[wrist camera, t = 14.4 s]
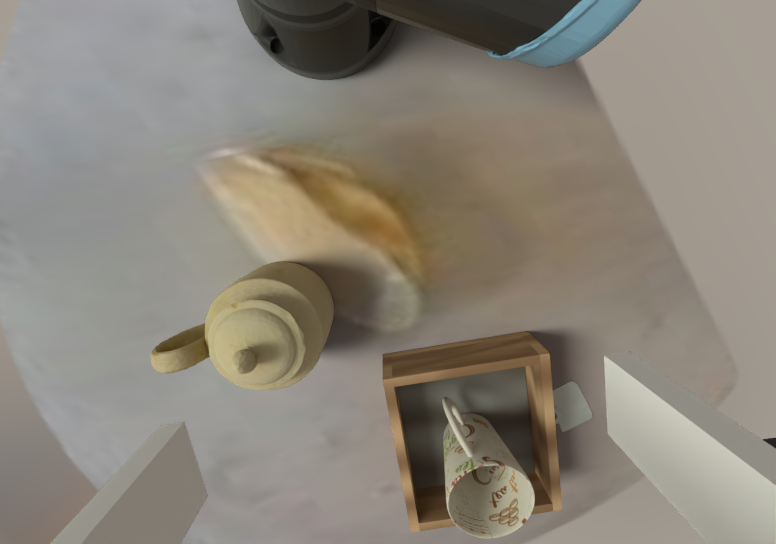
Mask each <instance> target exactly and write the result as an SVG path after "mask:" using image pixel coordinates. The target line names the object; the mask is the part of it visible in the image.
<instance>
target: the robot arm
mask: <svg viewBox="0 0 776 544" xmlns="http://www.w3.org/2000/svg"><path fill="white" fill-rule="evenodd" d="M640 1H641V0H237V2H238V5H239V8H240V11H241V14H242V16H243V18H244V21H245V23H246V25H247V26H248V28H249V30H250V32H251V33H252V35H253V36H254V38H255V39H256V40H257V42H258V43H259V44H260V45H261V46H262V47H263V49H264V50H265V51H266V52H267V53H268V54H269V55H270V56H271V57H272V58H273V59H274V60H275V61H276V62H277V63H279V64H280V65H281V66H283V67H285V68H286V69H288V70H290V71H292V72H294V73H296V74H298V75H301V76H304V77H308V78H313V79H322V80H327V79H337V78H342V77H345V76H348V75H351V74H353V73H355V72H357V71H359V70H361V69H362V68H364V67H365V66H367V65H368V64H369V63H371V62H372V61H373V60H374V59H375V58H376V57H377V56H378V55H379V54H380V53H381V51H382V50H383V49H384V47H385V46H386V44H387V43H388V41H389V39H390V37H391V35H392V33H393V31H394V28H395V26H396V23H397V20H398V21H400V22H403V23H406V24H409V25H412V26H415V27H418V28H421V29H424V30H427V31H430V32H433V33H436V34H439V35H441V36H444V37H447V38H450V39H453V40H456V41H459V42H462V43H465V44H468V45H471V46H474V47H477V48H480V49H482V50H485V51H486V52H487V54H488V55H489V56H491V57H493V58H496V59H513V60H516V61H520V62H523V63H527V64H530V65H534V66H538V67H547V68H548V67H553V66H556V65H561V64H566V63H569V62H571V61H573V60H575V59H577V58H579V57H580V56H582V55H584V54H585V53H587V52H588V51H590V50H591V49H592V48H594V47H595V46H596V45H597V44H599V42H601V41H602V40H603V39H605V38H606V37H607V36H608V35H609V34H610V33H611V32H612V31H613V30H614V29H615V28H616V27H617V26H618V25H619V24H620V23H621V22H622V21H623V20H624V19H625V18H626V17H627V16H628V15H629V14H630V13H631V12H632V11H633V9H634V8H635V7H636V6H637V5H638V3H640ZM604 365H605V387H606V409H607V430H608V435H609V436H610V437H611V438H612V439H613V440H614V442H615V443H616V444H617V445H618V446H619V447H620V448H621V449H622V450H623V451H624V453H625V454H626V455H627V456H628V457H629V458H630V459H631V460H632V461H633V462H634V464H635V465H636V466H637V467H638V468H639V469H640V470H641V471H642V472H643V473H644V475H645V476H646V477H647V478H648V479H649V480H650V481H651V482H652V483H653V484H654V485H655V486H656V488H657V489H658V490H659V491H660V492H661V493H662V494H663V495H664V496H665V497H666V499H667V500H668V501H669V502H670V503H671V504H672V505H673V506H674V507H675V508H676V510H677V511H678V512H679V513H680V514H681V515H682V516H683V517H684V518H685V520H686V521H687V522H688V523H689V524H690V525H691V526H692V527H693V528H694V529H695V530H696V532H697V533H698V534H699V535H700V536H701V537H702V538H703V539H704V540H705V541H706V543H707V544H776V438H770V439H763V440H762V439H760V438H759V437H757V436H756V435H754V434H753V433H751V432H750V431H748V430H747V429H745V428H744V427H742V426H741V425H739V424H738V423H736V422H735V421H733V420H732V419H730V418H729V417H727V416H726V415H724V414H723V413H721V412H720V411H718V410H717V409H715V408H714V407H712V406H711V405H709V404H708V403H706V402H705V401H703V400H702V399H700V398H699V397H697V396H696V395H694V394H693V393H691V392H690V391H688V390H687V389H685V388H684V387H682V386H681V385H679V384H678V383H676V382H675V381H673V380H672V379H670V378H669V377H667V376H666V375H664V374H663V373H661V372H660V371H658V370H657V369H655V368H654V367H652V366H651V365H649V364H648V363H646V362H645V361H643V360H642V359H640V358H639V357H637V356H636V355H634V354H633V353H631V352H630V351H628V352H621V353H615V354H609V355H604ZM207 496H208V494H207V491H206V488H205V484H204V481H203V478H202V475H201V472H200V469H199V466H198V463H197V460H196V456H195V453H194V450H193V447H192V444H191V441H190V438H189V435H188V431H187V428H186V425H185V422H180V423H174V424H167V425H161V426H160V427H159V428H158V429H157V430H156V431H155V432H154V433H153V434H152V435H151V436H150V437H149V439H148V440H147V441H146V442H145V443H144V444H143V445H142V446H141V447H140V448H139V449H138V450H137V451H136V452H135V453H134V455H133V456H132V457H131V458H130V459H129V460H128V461H127V462H126V463H125V464H124V465H123V466H122V467H121V468H120V469H119V471H118V472H117V473H116V474H115V475H114V476H113V477H112V478H111V479H110V480H109V481H108V482H107V483H106V484H105V485H104V487H103V488H102V489H101V490H100V491H99V492H98V493H97V494H96V495H95V496H94V497H93V498H92V499H91V500H90V502H89V503H88V504H87V505H86V506H85V507H84V508H83V509H82V510H81V511H80V512H79V513H78V514H77V515H76V516H75V517H74V519H73V520H72V521H71V522H70V523H69V524H68V525H67V526H66V527H65V528H64V529H63V530H62V531H61V532H60V534H59V535H58V536H57V537H56V538H55V539H54V540H53V541H52V542H51V543H50V544H181V542H182V540H183V538H184V537H185V535H186V533H187V531H188V530H189V528H190V526H191V524H192V523H193V521H194V519H195V517H196V516H197V514H198V512H199V510H200V509H201V507H202V505H203V503H204V502H205V500H206V498H207Z"/></svg>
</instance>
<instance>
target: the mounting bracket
mask: <svg viewBox="0 0 776 544" xmlns="http://www.w3.org/2000/svg"><path fill="white" fill-rule="evenodd" d="M553 401H554V414H555V425H556V424H558V423H559V426H560V428H561V430H562V432H565V431H567V430H569V429H572V428H574V427H576V426H578V425H580V424H582V423H584V422H586V421H588V420H590V419H591V418H592V411H591V409H590V407H589V405H588V403H587V402H586V400H585V398H584V396H583V394H582V392H581V390H580V388H579V386H578V385H577V383H575V382H572V381H570V382H568V383H566V384H564V385H562V386H560V387H558V388H556V389H554V390H553Z"/></svg>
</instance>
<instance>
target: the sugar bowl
mask: <svg viewBox="0 0 776 544" xmlns="http://www.w3.org/2000/svg"><path fill="white" fill-rule="evenodd" d="M333 318H334V304H333V299H332V296H331V293H330V291H329V289H328V287H327V286H326V284H325V283H324V281H323V280H322V279H321V278H320V276H318V275H317V274H316V273H315V272H313V271H312V270H310V269H308V268H307V267H305V266H302V265H299V264H296V263H291V262H276V263H271V264H267V265H265V266H262V267H260V268H258V269H257V270H255V271H253V272H251V273H249V274H248V275H246V276H244V277H243V278H241V279H239V280H238V281H236V282H235V283H234V284H232V285H231V286H229V287H228V288H227V289H225V290H224V291H223V292H222V293H220V294H219V295H218V297H217V298H216V299H215V300H214V302H213V303H212V305H211V307H210V308H209V311H208V314H207V317H206V321H205V323H204V324H202V325H199V326H196V327H193V328H191V329H188V330H186V331H183V332H181V333H179V334H177V335H175V336H173V337H171V338H169V339H168V340H166V341H164V342H162V343H160V344H159V345H158V346H156V347H155V348H154V350H153V351H152V353H151V363H152V366H153V367H154V369H155V370H157V371H158V372H160V373H174V372H177V371H181V370H184V369H187V368H189V367H191V366H194V365H196V364H197V363H199V362H201V361H202V360H204V359H206V358H208V357H210V358H211V360H212V362H213V364H214V365H215V367H216V368H217V370H218V371H219V372H220V373H221V374H222V375H223V376H224V377H225V378H226V379H228V380H229V381H231V382H232V383H234V384H236V385H238V386H240V387H243V388H247V389H253V390H274V389H280V388H285V387H287V386H290V385H292V384H295V383H297V382H298V381H300V380H301V379H303V378H304V377H305V376H306V375H307V374H308V373H309V372H310V371H311V370H312V369H313V368H314V366H315V365H316V363H317V362H318V360H319V358H320V355H321V353H322V351H323V349H324V346H325V344H326V341H327V338H328V335H329V332H330V329H331V325H332V322H333Z"/></svg>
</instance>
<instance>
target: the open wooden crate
mask: <svg viewBox="0 0 776 544" xmlns="http://www.w3.org/2000/svg"><path fill="white" fill-rule="evenodd" d="M383 384H384V389H385V395H386V400H387V405H388V411H389V416H390V421H391V427H392V432H393V437H394V443H395V448H396V453H397V459H398V464H399V470H400V475H401V480H402V486H403V491H404V496H405V502H406V507H407V512H408V518H409V523H410V528H411V532H416V531H423V530H430V529H436V528H443V527H450V526H456V525H455V524H454V522H453V521H452V519H451V517H450V515H449V513H448V509H447V504H446V488H445V467H444V445H443V435H444V430H445V428H446V426H447V424H448V423H449V421H448V418H447V416H446V413H445V411H444V408H443V403H442V399H443V398H444V397H448V398H450V399H451V400H452V401H454V402H455V404H456V406H457V408H458V410H459V412H460V414H466V413H474V414H478V415H481V416H482V417H484V418H485V419H487V420H488V421H489V422H490V424H491V425H492V426H493V428H494V429H495V431H496V432H497V434H498V435H499V436H500V438H501V439H502V441H503V442H504V443H505V445H506V446H507V448H508V449H509V451H510V452H511V453H512V455H513V456H514V458H515V459H516V461H517V462H518V463H519V465H520V466H521V468H522V469H523V471H524V472H525V473H526V475H527V476H528V478H529V480H530V482H531V484H532V486H533V489H534V494H535V503H534V508H533V511H532V513H531V514H537V513H544V512H550V511H557V510H562V501H561V489H560V476H559V464H558V451H557V439H556V426H555V414H554V401H553V388H552V376H551V363H550V353H549V352H548V351H547V350H546V349H545V348H544V347H543V346H542V345H541V344H540V343H539V342H538V341H537V340H536V339H535V338H534V337H533V336H532V335H531V334H530V333H529V332H528V331H525V332H519V333H513V334H507V335H500V336H494V337H488V338H482V339H476V340H469V341H463V342H457V343H451V344H445V345H438V346H432V347H426V348H420V349H413V350H407V351H401V352H395V353H389V354H383ZM454 416H455V415H454Z"/></svg>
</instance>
